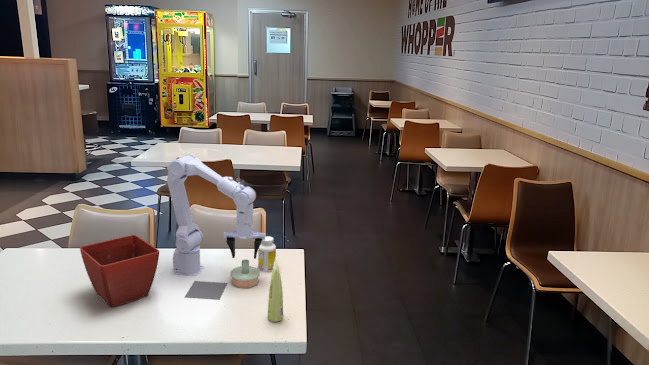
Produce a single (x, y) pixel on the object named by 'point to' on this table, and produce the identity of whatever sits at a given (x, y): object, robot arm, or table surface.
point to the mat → (206, 290)
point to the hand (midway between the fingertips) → (244, 257)
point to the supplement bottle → (266, 254)
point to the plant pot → (121, 268)
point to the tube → (275, 295)
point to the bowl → (245, 283)
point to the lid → (245, 272)
